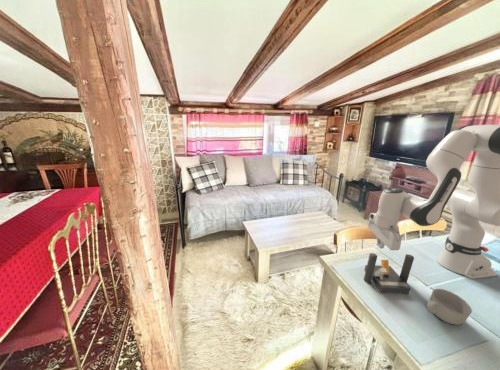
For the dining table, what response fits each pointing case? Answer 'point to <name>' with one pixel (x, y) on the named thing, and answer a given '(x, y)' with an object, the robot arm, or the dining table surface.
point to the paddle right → (380, 272)
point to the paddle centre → (385, 266)
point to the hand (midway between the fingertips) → (379, 246)
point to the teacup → (449, 306)
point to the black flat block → (389, 282)
